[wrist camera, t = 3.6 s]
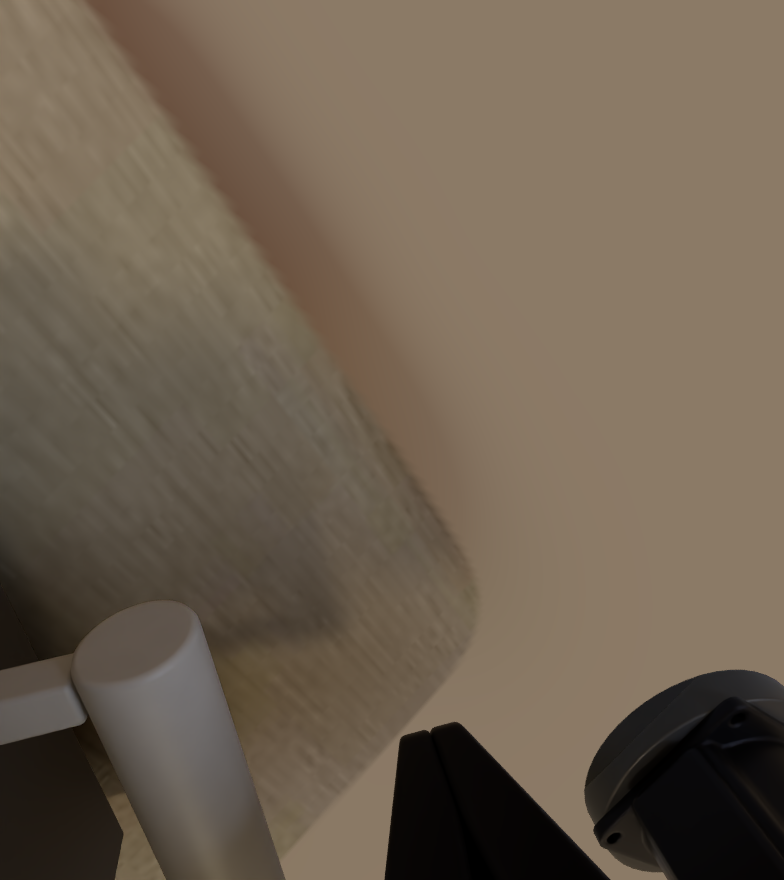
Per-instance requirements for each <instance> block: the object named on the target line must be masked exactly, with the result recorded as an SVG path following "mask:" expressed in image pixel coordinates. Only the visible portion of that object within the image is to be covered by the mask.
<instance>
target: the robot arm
mask: <svg viewBox="0 0 784 880" xmlns="http://www.w3.org/2000/svg"><path fill="white" fill-rule="evenodd" d="M593 831H594V834H595V836H596V838H597V840H598V842H599V844H600V846H601V847H603V848H605V849H608V850H610V851H613V852H616V853H619V854H621V855H624V856H627V857H630V858H632V859H635V860H638V861H641V862H644V863H646V864H649V865H652V866H655V867H657V868H660V869H662V871H663V873H664V874H665V876H666V878H667V879H668V880H784V723H782V722H780V721H779V720H777V719H776V718H774V717H772V716H771V715H769V714H767V713H766V712H764V711H762V710H761V709H759V708H757V707H756V706H754V705H752V704H751V703H749V702H747V701H746V700H744V699H742V698H741V697H737V696H734V697H730V698H727V699H725V700H724V701H722V702H721V703H720V704H719V705H718V706H717V707H716V708H715V709H714V710H713V711H711V712H710V713H709V714H708V715H707V716H706V717H705V718H704V719H703V720H702V721H701V722H700V723H699V724H698V725H697V726H696V727H695V728H694V729H693V730H692V731H691V732H690V733H689V734H688V735H687V736H686V737H685V738H684V739H683V740H682V741H681V742H680V743H679V744H677V745H676V746H675V747H674V748H673V749H672V750H671V751H670V752H669V753H668V754H667V755H666V756H665V757H664V758H663V759H662V760H661V761H660V762H659V763H658V764H657V765H656V766H655V767H654V768H653V769H652V770H651V771H650V772H649V773H648V774H647V775H646V776H645V777H644V778H642V779H641V780H640V781H639V782H638V783H637V784H636V785H635V786H634V787H633V788H632V789H631V790H630V791H629V792H628V793H627V794H626V795H625V796H624V797H623V798H622V799H621V800H620V801H619V802H618V803H617V804H616V805H615V806H614V807H613V808H612V809H611V810H610V811H609V812H607V813H606V814H605V815H604V816H603V817H602V818H601V819H600V820H599V821H598V822H597V824H596V825H595V826H594V830H593ZM385 880H610V879H609V878H608V877H607V876H606V875H605V874H604V873H603V872H602V870H601V869H600V868H598V866H597V865H596V864H595V863H594V862H593V861H592V860H591V859H590V858H589V857H588V856H587V855H586V854H585V853H584V852H583V851H582V850H581V849H580V848H579V847H578V845H577V844H576V843H575V842H574V841H573V840H572V839H571V838H570V837H569V836H568V835H567V834H566V833H565V832H564V831H563V830H562V829H561V828H560V827H559V826H558V825H557V823H556V822H555V821H554V820H553V819H551V817H550V816H549V815H548V814H547V813H546V812H545V811H544V810H543V809H542V808H541V807H540V806H539V805H538V804H537V803H536V802H535V801H534V800H533V798H531V796H530V795H529V794H528V793H527V792H526V791H525V790H524V789H523V788H522V787H521V786H520V785H519V784H518V783H517V782H516V781H515V780H514V779H513V778H512V777H511V776H510V775H509V773H508V772H506V770H505V769H504V768H503V767H502V766H501V765H500V764H499V763H498V762H497V761H496V760H495V759H494V758H493V757H492V756H491V755H490V754H489V753H488V752H487V751H486V749H484V748H483V746H482V745H480V743H479V742H478V741H477V740H476V739H475V738H474V737H473V736H472V735H471V734H470V733H469V732H468V731H467V730H466V729H465V728H464V727H463V726H462V725H461V724H460V723H458V722H452V723H448V724H444V725H441V726H437V727H434V728H432V730H431V732H430V733H429V732H428V731H426V730H422V731H418V732H415V733H411V734H407V735H404V736H403V737H402V738H401V739H400V743H399V752H398V761H397V770H396V779H395V788H394V797H393V806H392V816H391V825H390V834H389V844H388V852H387V861H386V871H385Z"/></svg>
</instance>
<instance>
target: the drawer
mask: <svg viewBox="0 0 784 880" xmlns="http://www.w3.org/2000/svg"><path fill="white" fill-rule="evenodd" d="M88 714H89V716H90V719H91V721H92V723H93V725H94V727H95V729H96V731H97V733H98V736H99V738H100V740H101V742H102V744H103V746H104V748H105V750H106V753H107V755H108V757H109V759H110V761H111V763H112V765H113V767H114V770H115V772H116V774H117V776H118V778H119V780H120V782H121V784H122V786H123V789H124V791H125V793H126V795H127V797H128V799H129V801H130V803H131V806H132V808H133V810H134V812H135V814H136V816H137V818H138V820H139V823H140V825H141V827H142V829H143V831H144V833H145V835H146V837H147V840H148V842H149V844H150V846H151V848H152V850H153V852H154V854H155V857H156V859H157V861H158V863H159V865H160V867H161V869H162V871H163V874H164V876H165V878H166V880H285V877H284V874H283V871H282V868H281V865H280V862H279V859H278V856H277V853H276V850H275V846H274V843H273V840H272V837H271V834H270V831H269V828H268V825H267V822H266V819H265V816H264V813H263V810H262V807H261V804H260V801H259V798H258V795H257V792H256V789H255V786H254V783H253V780H252V777H251V774H250V771H249V768H248V765H247V762H246V759H245V756H244V753H243V750H242V747H241V744H240V741H239V738H238V735H237V732H236V729H235V726H234V723H233V719H232V716H231V713H230V710H229V707H228V704H227V701H226V698H225V695H224V692H223V689H222V686H221V683H220V680H219V677H218V674H217V671H216V668H215V665H214V662H213V659H212V656H211V653H210V650H209V647H208V644H207V641H206V638H205V635H204V632H203V629H202V626H201V623H200V620H199V618H198V615H197V614H196V613H195V612H194V611H193V610H192V609H191V608H190V607H188V606H187V605H185V604H183V603H181V602H177V601H172V600H156V601H149V602H144V603H140V604H137V605H134V606H131V607H128V608H126V609H124V610H121V611H119V612H117V613H115V614H113V615H112V616H110V617H108V618H107V619H105V620H104V621H102V622H101V623H99V624H98V625H97V626H96V627H94V628H93V629H92V630H91V631H90V632H89V633H88V634H87V635H86V636H85V637H84V638H83V639H82V641H81V642H80V643H79V645H78V646H77V648H76V650H75V652H74V653H72V654H67V655H63V656H59V657H55V658H50V659H46V660H42V661H38V659H37V657H36V655H35V653H34V651H33V649H32V647H31V645H30V643H29V641H28V638H27V636H26V634H25V632H24V630H23V628H22V626H21V624H20V622H19V620H18V618H17V616H16V614H15V612H14V610H13V608H12V606H11V604H10V602H9V600H8V598H7V596H6V594H5V592H4V590H3V588H2V586H1V584H0V880H115V875H116V869H117V864H118V859H119V854H120V849H121V844H122V839H123V831H122V829H121V827H120V825H119V823H118V821H117V819H116V817H115V815H114V813H113V811H112V808H111V806H110V804H109V802H108V800H107V798H106V796H105V794H104V792H103V790H102V788H101V786H100V784H99V782H98V780H97V778H96V776H95V774H94V772H93V770H92V768H91V766H90V764H89V762H88V760H87V758H86V756H85V754H84V752H83V750H82V748H81V746H80V744H79V742H78V740H77V738H76V736H75V734H74V732H73V730H72V728H71V727H75V726H79V725H81V724H83V723H84V722H85V721H86V719H87V715H88Z"/></svg>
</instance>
